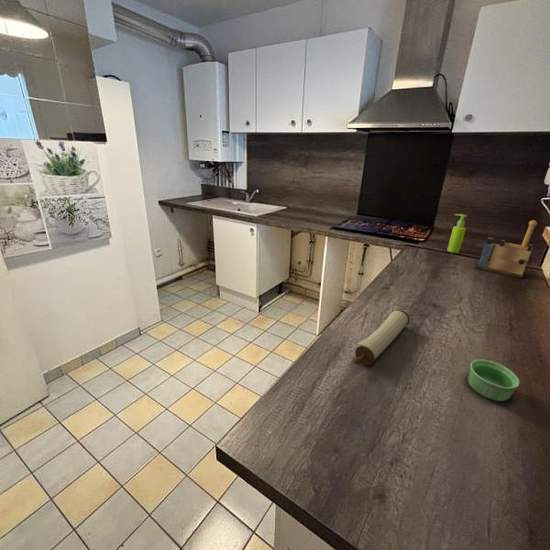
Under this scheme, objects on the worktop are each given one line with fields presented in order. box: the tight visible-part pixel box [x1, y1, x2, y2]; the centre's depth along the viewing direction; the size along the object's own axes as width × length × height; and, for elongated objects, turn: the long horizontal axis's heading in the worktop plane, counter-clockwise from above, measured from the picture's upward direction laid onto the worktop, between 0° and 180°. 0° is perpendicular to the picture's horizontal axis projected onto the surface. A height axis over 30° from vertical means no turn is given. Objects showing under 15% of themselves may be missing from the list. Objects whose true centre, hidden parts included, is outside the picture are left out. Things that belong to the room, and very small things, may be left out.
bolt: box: [503, 219, 538, 251], centre depth 124 cm, size 10×3×12 cm, turn 51°
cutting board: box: [475, 236, 534, 280], centre depth 130 cm, size 17×6×14 cm, turn 51°
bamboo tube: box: [353, 309, 411, 366], centre depth 80 cm, size 32×6×5 cm, turn 137°
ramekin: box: [467, 359, 521, 402], centre depth 65 cm, size 9×9×4 cm
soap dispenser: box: [446, 213, 468, 254], centre depth 156 cm, size 6×7×20 cm
